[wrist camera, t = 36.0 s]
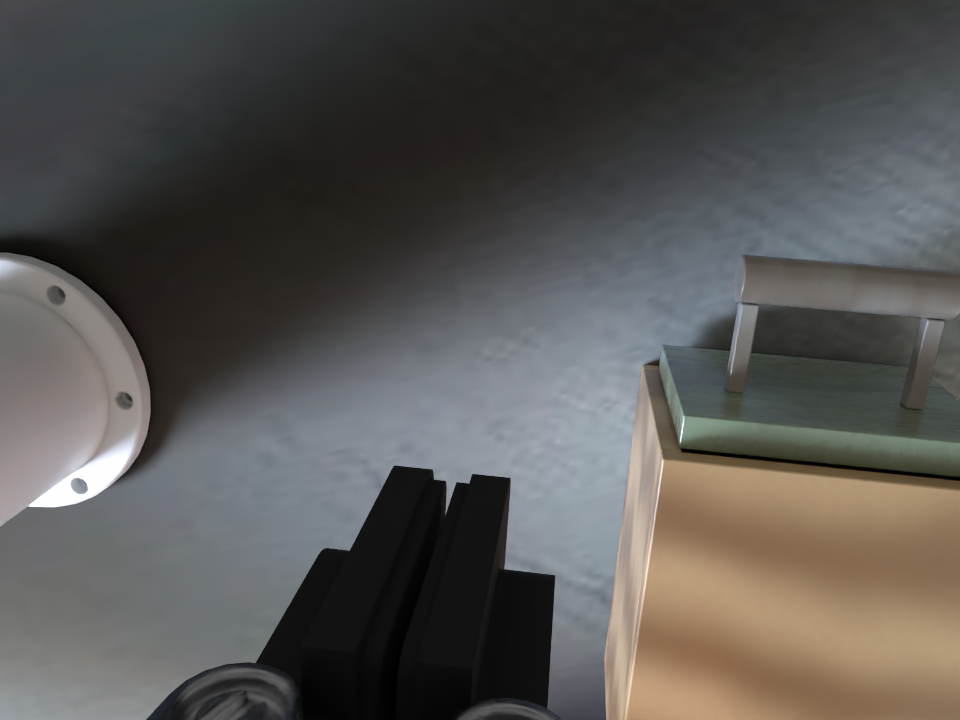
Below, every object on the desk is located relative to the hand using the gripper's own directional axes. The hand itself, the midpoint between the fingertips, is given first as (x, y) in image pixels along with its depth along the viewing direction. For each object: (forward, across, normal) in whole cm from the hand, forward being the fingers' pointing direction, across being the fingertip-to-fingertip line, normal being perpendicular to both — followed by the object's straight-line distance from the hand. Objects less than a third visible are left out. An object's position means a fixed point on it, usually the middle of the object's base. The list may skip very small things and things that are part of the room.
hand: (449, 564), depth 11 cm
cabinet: (+23, -10, +12) cm, 28 cm away
